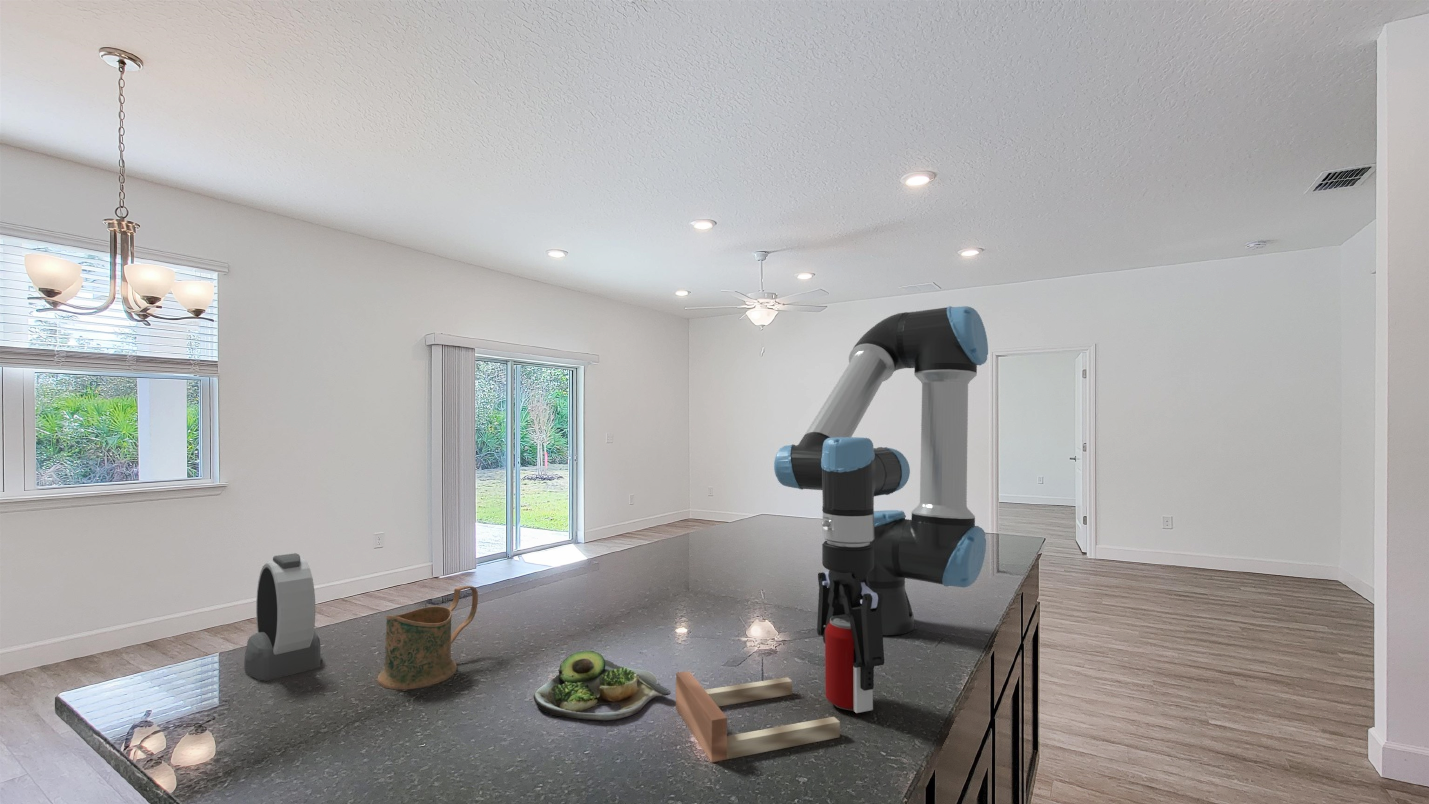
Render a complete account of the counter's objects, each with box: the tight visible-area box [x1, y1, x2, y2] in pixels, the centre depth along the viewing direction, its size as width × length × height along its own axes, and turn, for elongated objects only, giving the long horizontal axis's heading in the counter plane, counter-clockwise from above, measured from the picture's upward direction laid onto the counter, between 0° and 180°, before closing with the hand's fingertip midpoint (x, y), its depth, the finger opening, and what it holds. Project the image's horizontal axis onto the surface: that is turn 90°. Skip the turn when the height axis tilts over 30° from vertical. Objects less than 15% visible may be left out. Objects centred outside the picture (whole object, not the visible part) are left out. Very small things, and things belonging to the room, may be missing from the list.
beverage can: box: [824, 614, 857, 711], centre depth 90 cm, size 7×7×12 cm
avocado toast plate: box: [533, 650, 672, 721], centre depth 92 cm, size 19×18×5 cm
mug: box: [377, 585, 479, 690], centre depth 102 cm, size 12×18×12 cm, turn 155°
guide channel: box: [675, 670, 841, 763], centre depth 84 cm, size 18×15×5 cm
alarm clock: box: [243, 552, 321, 681], centre depth 103 cm, size 16×10×18 cm, turn 47°
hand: (848, 698), depth 90 cm, fingers closed on beverage can, 7 cm apart
